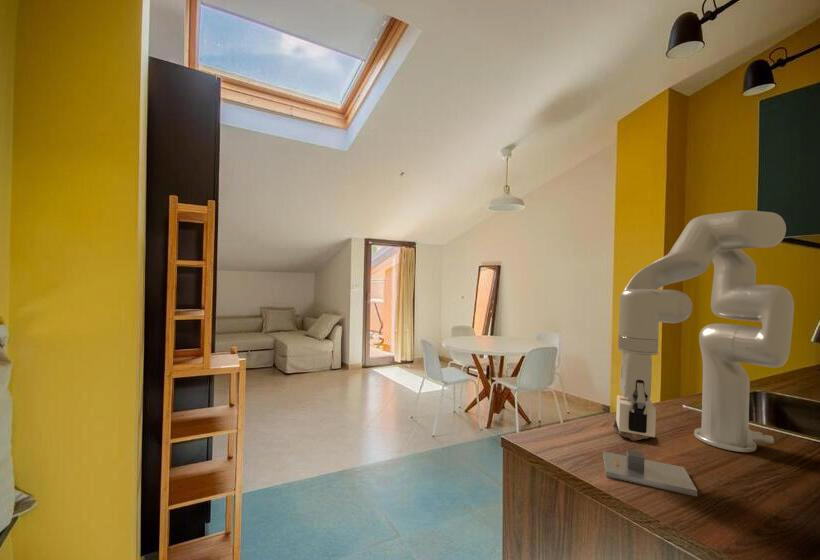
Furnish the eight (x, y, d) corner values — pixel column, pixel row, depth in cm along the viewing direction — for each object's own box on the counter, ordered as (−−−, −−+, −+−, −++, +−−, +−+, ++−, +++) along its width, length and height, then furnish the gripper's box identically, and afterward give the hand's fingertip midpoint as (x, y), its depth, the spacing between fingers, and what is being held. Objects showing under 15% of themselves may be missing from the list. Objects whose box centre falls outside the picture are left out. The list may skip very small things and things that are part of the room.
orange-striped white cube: (649, 426, 82) (650, 398, 82) (655, 437, 76) (656, 407, 76) (616, 420, 85) (617, 393, 85) (619, 430, 79) (620, 402, 79)
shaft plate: (683, 472, 81) (684, 453, 81) (697, 496, 72) (697, 475, 72) (603, 456, 88) (603, 439, 88) (606, 476, 79) (606, 457, 79)
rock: (623, 442, 96) (664, 438, 95) (617, 419, 98) (656, 415, 97) (612, 437, 105) (649, 433, 103) (606, 415, 106) (642, 411, 105)
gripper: (614, 338, 90) (612, 410, 90) (622, 349, 74) (619, 436, 74) (650, 341, 87) (647, 415, 87) (666, 353, 71) (663, 444, 71)
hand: (634, 424), depth 81 cm, fingers closed on orange-striped white cube, 6 cm apart
